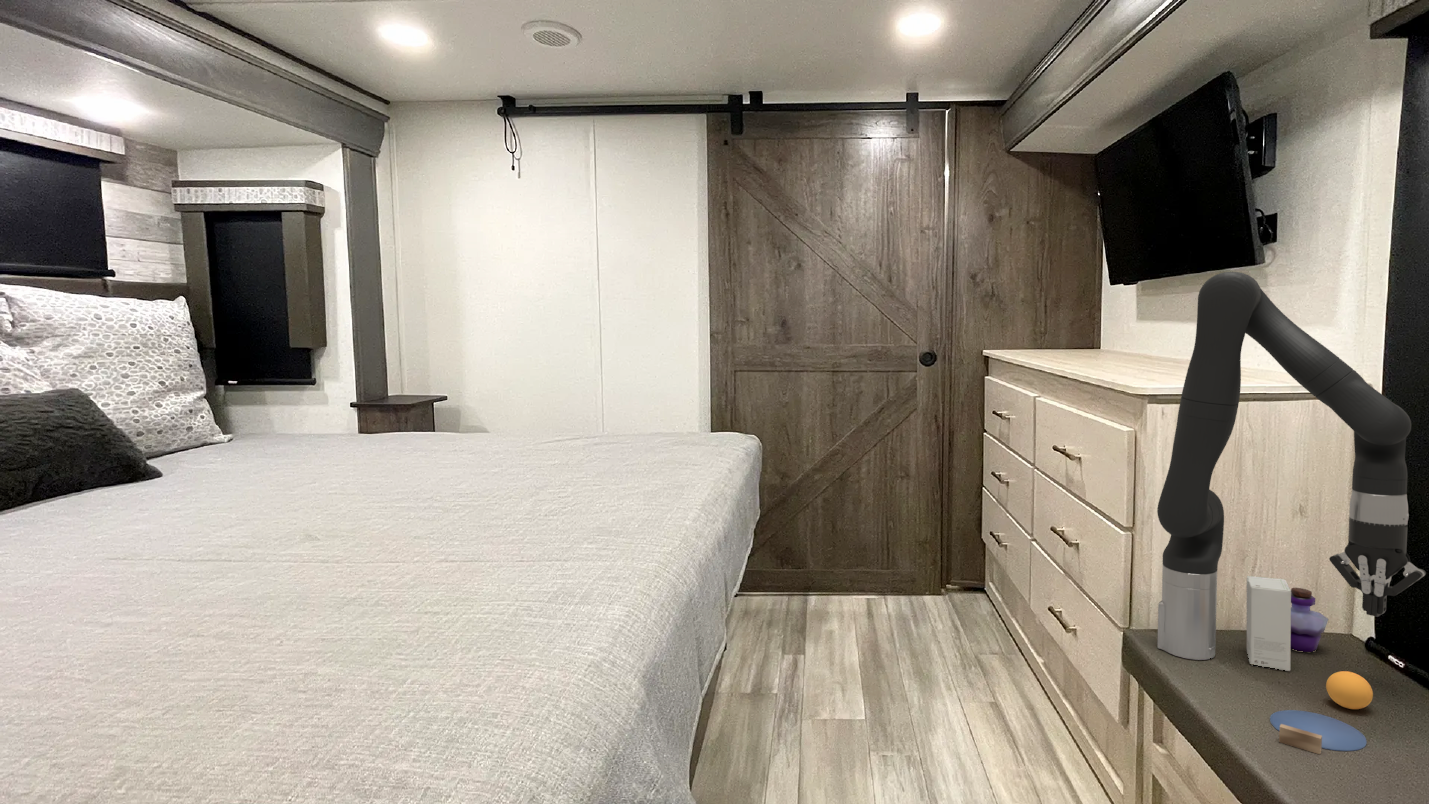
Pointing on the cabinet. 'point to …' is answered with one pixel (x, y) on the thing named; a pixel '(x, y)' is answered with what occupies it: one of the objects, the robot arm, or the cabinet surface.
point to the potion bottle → (1305, 621)
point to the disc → (1322, 729)
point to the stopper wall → (1300, 739)
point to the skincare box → (1269, 622)
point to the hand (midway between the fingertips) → (1374, 614)
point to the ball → (1349, 690)
